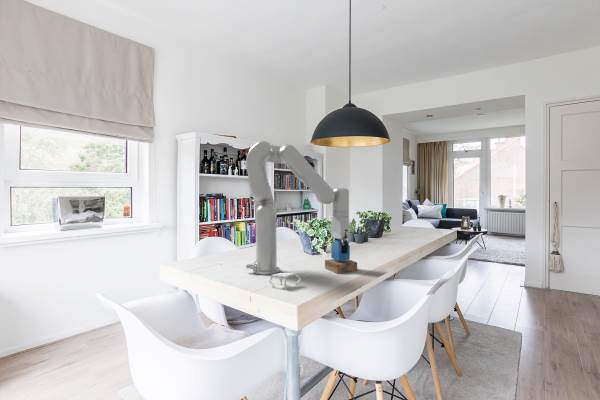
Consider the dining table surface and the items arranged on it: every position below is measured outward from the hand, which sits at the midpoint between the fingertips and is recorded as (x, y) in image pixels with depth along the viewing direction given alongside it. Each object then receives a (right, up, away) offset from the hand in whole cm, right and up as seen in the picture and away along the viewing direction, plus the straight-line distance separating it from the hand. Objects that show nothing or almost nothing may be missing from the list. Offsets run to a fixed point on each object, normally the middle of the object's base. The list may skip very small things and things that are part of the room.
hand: (340, 251), depth 157 cm
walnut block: (0, -8, 0) cm, 8 cm away
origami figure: (-24, -10, -25) cm, 37 cm away
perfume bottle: (0, -3, 0) cm, 3 cm away
